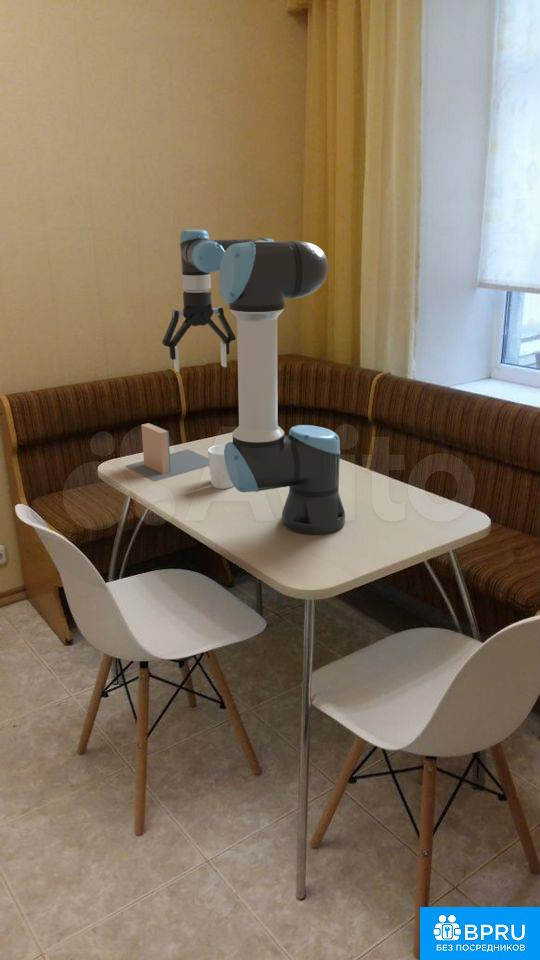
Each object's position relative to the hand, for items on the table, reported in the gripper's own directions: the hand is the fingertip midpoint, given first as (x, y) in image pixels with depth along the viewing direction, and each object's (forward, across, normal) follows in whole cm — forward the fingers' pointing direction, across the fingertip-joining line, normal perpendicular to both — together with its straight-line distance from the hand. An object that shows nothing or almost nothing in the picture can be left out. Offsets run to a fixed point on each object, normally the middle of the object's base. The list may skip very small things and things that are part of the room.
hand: (200, 368), depth 210 cm
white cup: (+28, 0, +18) cm, 33 cm away
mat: (+28, +10, -1) cm, 30 cm away
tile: (+27, +14, +1) cm, 31 cm away
